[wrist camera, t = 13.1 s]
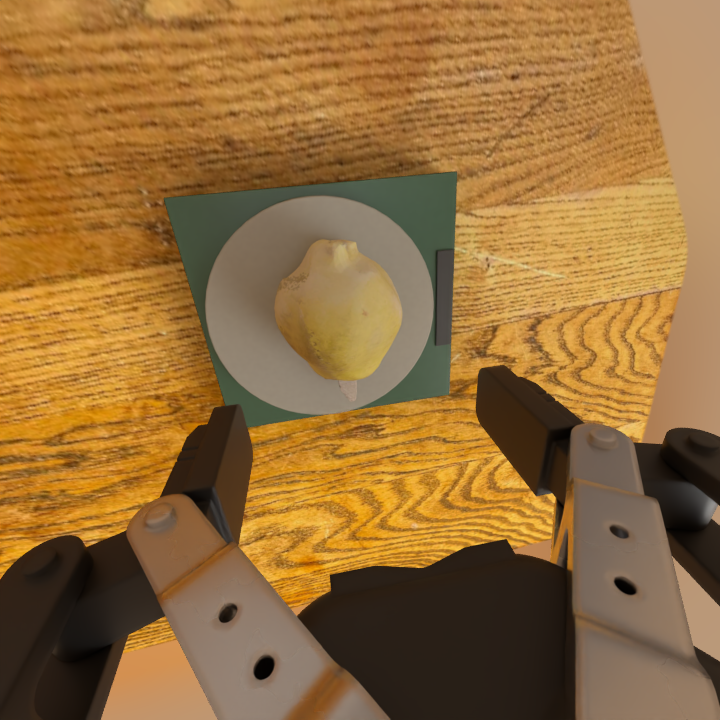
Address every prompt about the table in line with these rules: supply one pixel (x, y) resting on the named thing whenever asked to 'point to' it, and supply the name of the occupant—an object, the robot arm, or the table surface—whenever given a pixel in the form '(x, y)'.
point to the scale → (285, 254)
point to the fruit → (339, 312)
